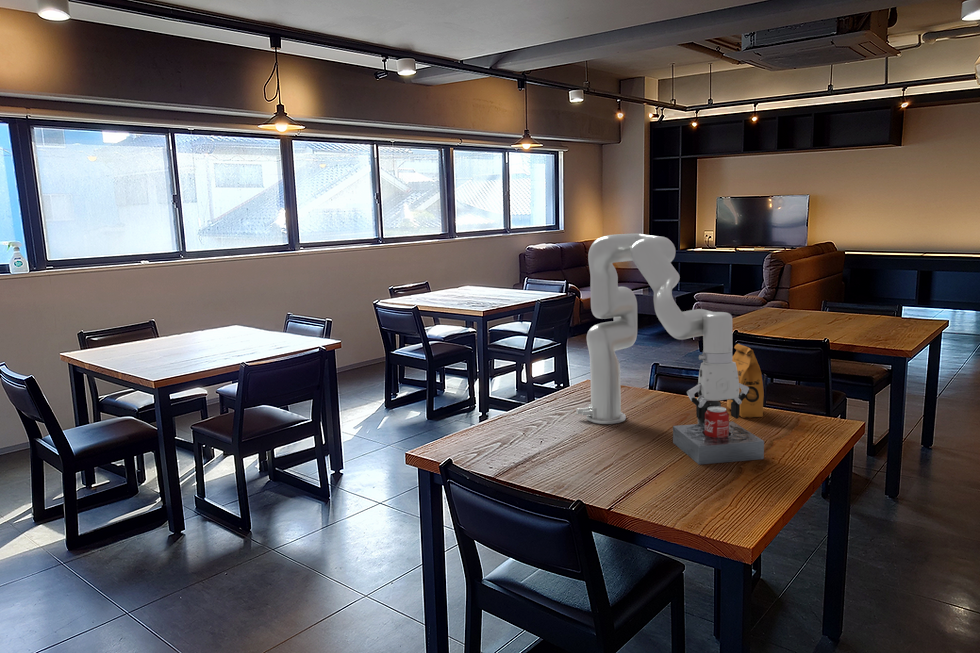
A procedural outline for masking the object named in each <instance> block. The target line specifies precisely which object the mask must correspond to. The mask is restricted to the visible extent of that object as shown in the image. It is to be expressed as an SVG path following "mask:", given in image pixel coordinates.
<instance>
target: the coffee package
mask: <svg viewBox="0 0 980 653" xmlns="http://www.w3.org/2000/svg"><path fill="white" fill-rule="evenodd" d="M733 348H734V349H735V350H736V351H735V352H734V354H733V355H732V361H733V362H735V363H736V367H737V372H738V379H739V383H740V384H743V385H745V386H747V387H749V390H748V392H747V394H746V397H745V398H744V399H743V401H742V403H741V404H740V414H739V416H740V417H741V418H743V419H744V418H749V419H750V418H762V417H764V414H763V413H764V397H765V396H764V394H765V393H764V383H763V382H764V381H763V376H762V371H761V368H760V365H759V363H758V360H757V358H756V355H755V353H754V350H753V349H751V348H750V347H748V346H747V345H746V346H745V345H742V344H739V343H736V344H735V345H734V347H733ZM739 393H741V388H739ZM731 402H733V400H732V399H730V400H726V408H728V409H730V410H731Z"/></svg>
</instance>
